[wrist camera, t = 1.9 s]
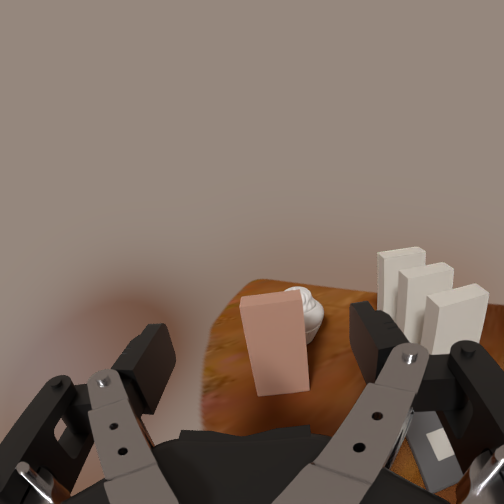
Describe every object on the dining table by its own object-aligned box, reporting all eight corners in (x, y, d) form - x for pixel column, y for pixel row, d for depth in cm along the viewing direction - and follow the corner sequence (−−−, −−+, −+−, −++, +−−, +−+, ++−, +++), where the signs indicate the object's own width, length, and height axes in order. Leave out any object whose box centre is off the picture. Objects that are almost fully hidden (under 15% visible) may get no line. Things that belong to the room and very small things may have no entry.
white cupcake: (287, 359, 31) (280, 305, 29) (268, 335, 37) (260, 285, 35) (335, 341, 32) (332, 288, 31) (310, 320, 38) (306, 272, 36)
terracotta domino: (309, 390, 25) (302, 299, 23) (257, 396, 26) (239, 307, 23) (307, 377, 27) (299, 289, 25) (258, 383, 28) (241, 296, 25)
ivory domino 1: (419, 333, 29) (425, 251, 26) (381, 342, 29) (384, 258, 27) (412, 324, 31) (417, 246, 28) (376, 333, 31) (377, 252, 29)
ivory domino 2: (440, 359, 24) (454, 269, 21) (398, 371, 24) (407, 278, 21) (432, 349, 26) (443, 261, 23) (392, 360, 26) (398, 270, 23)
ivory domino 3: (463, 391, 19) (489, 292, 16) (418, 408, 19) (439, 307, 16) (454, 378, 20) (475, 283, 18) (410, 393, 21) (426, 295, 18)
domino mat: (519, 446, 10) (522, 443, 10) (428, 495, 11) (430, 493, 11) (416, 313, 34) (416, 310, 34) (354, 326, 35) (354, 323, 34)
